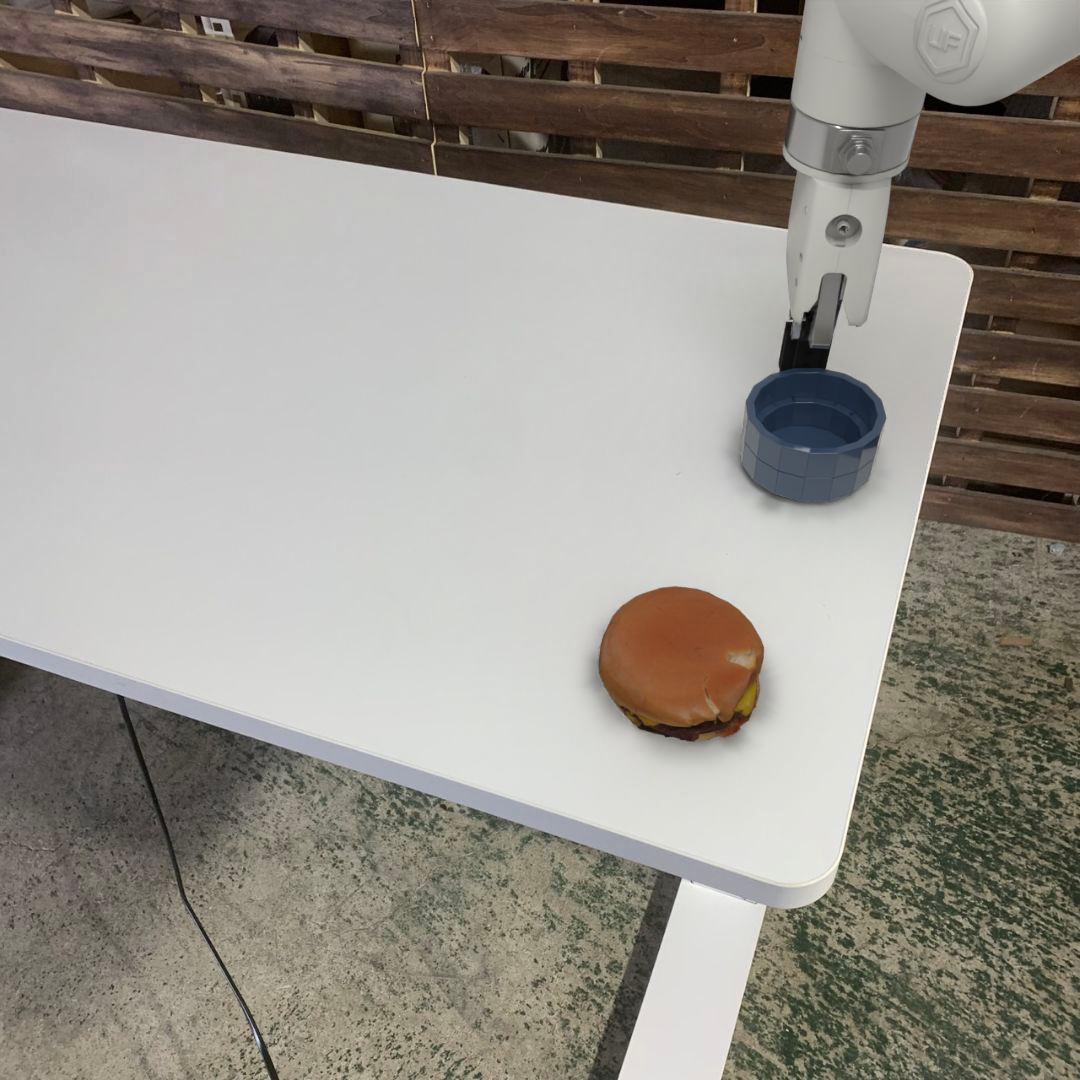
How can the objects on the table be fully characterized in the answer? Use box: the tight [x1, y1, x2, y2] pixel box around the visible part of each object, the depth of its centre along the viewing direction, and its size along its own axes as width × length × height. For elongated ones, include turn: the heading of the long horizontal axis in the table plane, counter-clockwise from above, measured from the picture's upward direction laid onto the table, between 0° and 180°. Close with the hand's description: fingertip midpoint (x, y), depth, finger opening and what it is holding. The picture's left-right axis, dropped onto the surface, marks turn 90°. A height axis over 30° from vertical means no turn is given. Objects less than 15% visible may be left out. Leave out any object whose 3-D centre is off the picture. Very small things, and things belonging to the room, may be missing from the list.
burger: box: [597, 585, 765, 743], centre depth 56 cm, size 10×9×5 cm
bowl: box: [739, 368, 887, 502], centre depth 68 cm, size 9×9×5 cm
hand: (800, 373), depth 72 cm, fingers closed
